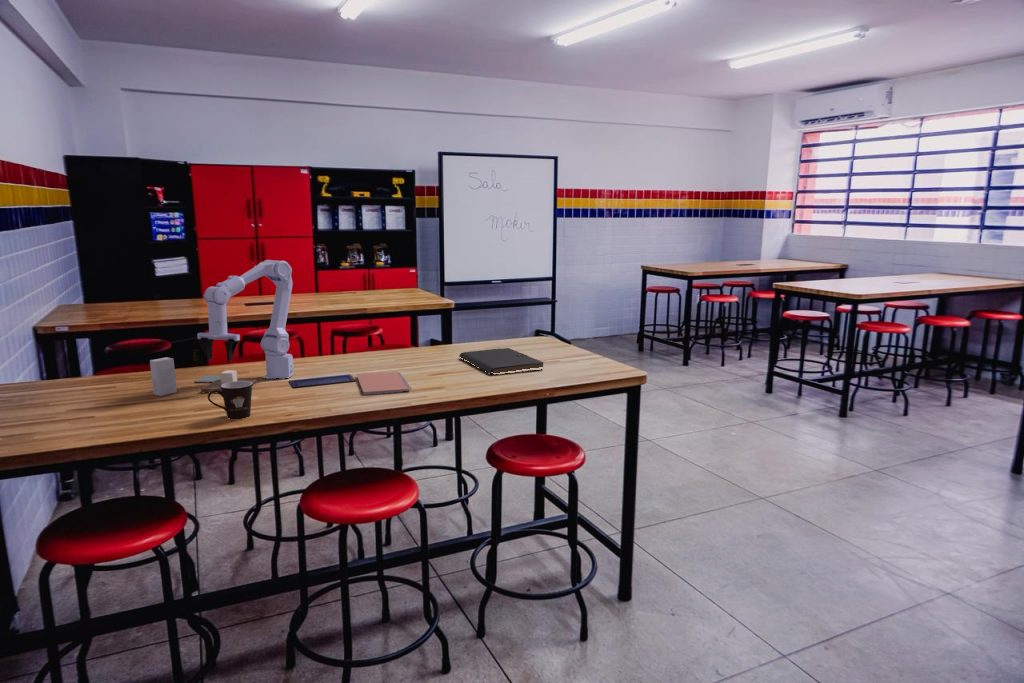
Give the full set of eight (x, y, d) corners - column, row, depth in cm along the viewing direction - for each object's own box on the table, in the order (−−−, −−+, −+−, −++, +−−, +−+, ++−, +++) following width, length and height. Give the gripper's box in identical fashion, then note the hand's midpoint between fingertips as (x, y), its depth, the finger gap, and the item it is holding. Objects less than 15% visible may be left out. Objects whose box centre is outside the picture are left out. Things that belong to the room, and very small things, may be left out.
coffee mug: (258, 412, 193) (256, 381, 191) (247, 420, 185) (245, 388, 183) (220, 412, 193) (218, 380, 191) (208, 420, 184) (205, 388, 183)
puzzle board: (256, 383, 227) (256, 379, 227) (243, 393, 215) (242, 388, 214) (217, 383, 227) (217, 379, 226) (201, 393, 214) (201, 388, 214)
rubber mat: (229, 376, 236) (229, 375, 236) (219, 382, 228) (219, 381, 228) (205, 376, 236) (205, 375, 236) (194, 382, 227) (194, 381, 227)
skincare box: (170, 390, 216) (167, 356, 214) (177, 392, 214) (174, 358, 212) (152, 394, 211) (149, 360, 209) (159, 396, 209) (156, 361, 207)
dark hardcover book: (544, 361, 254) (490, 367, 243) (544, 371, 255) (490, 377, 244) (508, 347, 283) (459, 352, 272) (508, 355, 284) (459, 361, 273)
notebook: (412, 393, 219) (412, 387, 219) (363, 396, 214) (363, 391, 213) (400, 375, 245) (400, 370, 244) (356, 378, 239) (356, 373, 239)
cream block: (237, 386, 223) (236, 370, 222) (233, 389, 219) (232, 373, 218) (226, 386, 222) (225, 370, 221) (221, 389, 219) (220, 373, 217)
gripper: (191, 322, 212) (193, 361, 214) (231, 323, 211) (232, 363, 213) (203, 319, 219) (205, 357, 221) (242, 321, 217) (244, 359, 220)
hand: (219, 360), depth 217 cm, fingers open, 7 cm apart
